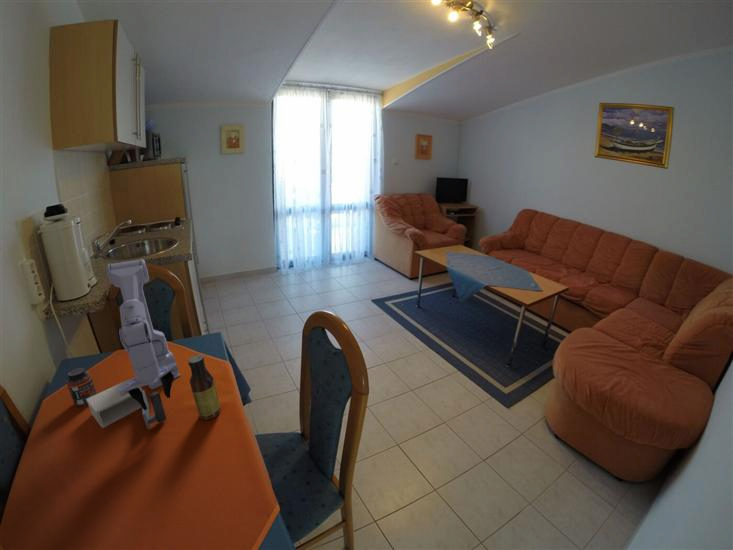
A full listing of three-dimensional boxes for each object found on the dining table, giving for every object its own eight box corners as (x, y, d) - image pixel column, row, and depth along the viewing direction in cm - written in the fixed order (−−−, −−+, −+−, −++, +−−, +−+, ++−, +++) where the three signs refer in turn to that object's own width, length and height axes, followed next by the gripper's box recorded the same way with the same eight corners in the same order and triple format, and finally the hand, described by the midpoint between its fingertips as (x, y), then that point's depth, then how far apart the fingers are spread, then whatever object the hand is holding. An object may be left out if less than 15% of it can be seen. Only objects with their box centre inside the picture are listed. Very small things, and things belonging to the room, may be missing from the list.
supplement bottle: (85, 408, 106) (73, 379, 102) (70, 406, 108) (57, 376, 103) (102, 395, 112) (92, 367, 108) (88, 393, 113) (77, 365, 109)
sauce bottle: (225, 409, 105) (214, 355, 98) (209, 423, 100) (195, 367, 92) (210, 403, 107) (198, 350, 100) (193, 417, 102) (179, 362, 95)
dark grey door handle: (146, 404, 107) (138, 380, 103) (164, 398, 109) (157, 374, 106) (147, 429, 97) (138, 403, 94) (167, 422, 100) (159, 396, 96)
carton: (135, 393, 113) (130, 378, 111) (146, 404, 108) (142, 389, 105) (92, 414, 104) (86, 399, 102) (102, 428, 99) (96, 412, 96)
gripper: (118, 382, 85) (133, 423, 90) (178, 355, 96) (188, 394, 101) (110, 371, 90) (124, 411, 95) (167, 347, 100) (177, 384, 105)
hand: (156, 402), depth 98 cm, fingers open, 6 cm apart
